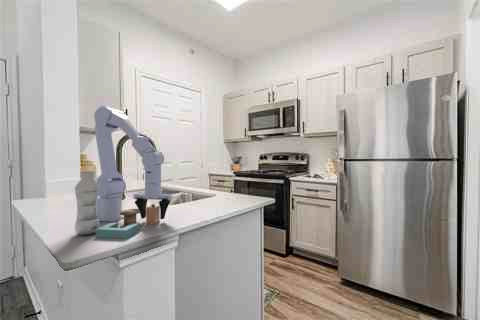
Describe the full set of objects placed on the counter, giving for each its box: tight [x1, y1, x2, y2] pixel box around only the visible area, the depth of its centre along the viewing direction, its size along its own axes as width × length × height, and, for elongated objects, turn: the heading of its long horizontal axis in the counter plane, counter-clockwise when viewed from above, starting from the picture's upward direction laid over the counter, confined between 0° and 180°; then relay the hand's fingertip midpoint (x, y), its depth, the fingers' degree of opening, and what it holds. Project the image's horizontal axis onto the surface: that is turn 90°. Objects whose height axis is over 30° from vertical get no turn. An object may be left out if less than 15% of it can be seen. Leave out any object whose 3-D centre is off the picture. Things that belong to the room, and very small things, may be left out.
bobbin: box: [119, 208, 141, 228], centre depth 78 cm, size 6×6×6 cm
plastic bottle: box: [74, 171, 101, 236], centre depth 71 cm, size 6×7×20 cm
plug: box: [145, 203, 161, 224], centre depth 84 cm, size 4×4×7 cm
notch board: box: [95, 222, 140, 239], centre depth 71 cm, size 10×7×2 cm
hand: (153, 218), depth 85 cm, fingers open, 7 cm apart
